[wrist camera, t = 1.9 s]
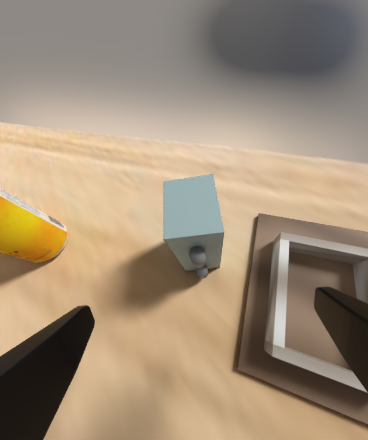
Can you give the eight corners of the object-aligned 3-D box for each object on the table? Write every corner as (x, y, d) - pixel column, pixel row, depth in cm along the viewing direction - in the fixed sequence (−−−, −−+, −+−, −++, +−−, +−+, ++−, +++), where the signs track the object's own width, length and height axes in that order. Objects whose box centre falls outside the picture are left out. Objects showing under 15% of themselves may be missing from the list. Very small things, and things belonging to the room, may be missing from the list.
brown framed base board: (412, 440, 12) (469, 478, 9) (237, 367, 15) (242, 379, 13) (374, 236, 19) (401, 223, 16) (257, 215, 22) (264, 202, 19)
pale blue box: (221, 278, 19) (227, 250, 10) (186, 281, 19) (163, 256, 11) (213, 228, 22) (213, 173, 13) (183, 232, 22) (163, 181, 14)
